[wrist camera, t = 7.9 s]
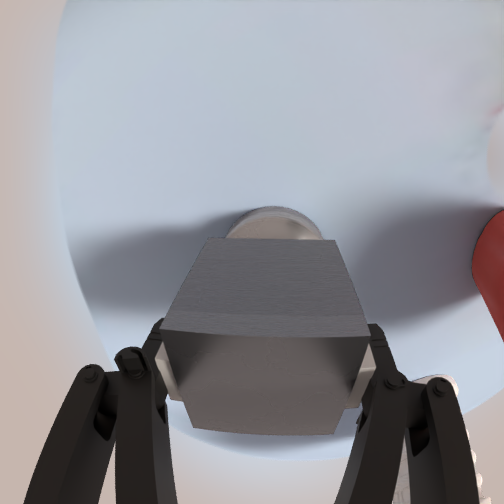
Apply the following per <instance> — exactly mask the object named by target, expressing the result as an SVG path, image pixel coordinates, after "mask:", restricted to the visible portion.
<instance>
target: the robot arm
mask: <svg viewBox="0 0 504 504" xmlns="http://www.w3.org/2000/svg"><path fill="white" fill-rule="evenodd" d="M163 320H164V318H161V319H160V320H159V321H158V322H157V323H155V324H154V326H153V328H152V330H151V333H150V334H149V335H148V337H147V339H146V341H145V343H144V345H143V347H142V349H141V348H138V347H127V348H124V349H122V350H120V351H119V352H118V353H117V354H116V356H115V359H114V360H115V362H116V364H117V366H118V368H119V370H120V371H113V372H104V370H103V369H102V368H101V367H100V366H99V365H96V364H90V365H87V366H85V367H83V368H82V369H81V370H80V371H79V372H78V374H77V376H76V378H75V380H74V382H73V384H72V386H71V388H70V390H69V392H68V394H67V396H66V398H65V400H64V402H63V404H62V406H61V408H60V410H59V413H58V415H57V417H56V419H55V421H54V424H53V426H52V428H51V430H50V433H49V435H48V437H47V440H46V442H45V444H44V447H43V450H42V452H41V455H40V457H39V460H38V463H37V465H36V468H35V470H34V473H33V476H32V479H31V482H30V485H29V488H28V491H27V494H26V497H25V500H24V503H23V504H98V502H99V498H100V494H101V490H102V486H103V482H104V479H105V475H106V471H107V468H108V464H109V461H110V457H111V454H112V451H113V447H114V444H115V441H116V445H115V446H116V447H115V449H116V450H115V489H116V504H178V503H177V496H176V490H175V483H174V476H173V468H172V459H171V449H170V438H169V426H168V411H167V404H166V401H165V399H166V397H167V394H169V397H170V399H171V400H176V401H182V402H183V400H182V397H181V394H180V392H179V389H178V386H177V383H176V380H175V377H174V375H173V372H172V369H171V366H170V363H169V359H168V356H167V353H166V350H165V347H164V343H163V340H162V337H161V333H160V330H159V328H160V326H161V324H162V322H163ZM367 325H368V328H369V331H370V334H371V338H370V341H369V344H368V347H367V350H366V353H365V356H364V359H363V362H362V365H361V368H360V370H359V373H358V376H357V379H356V381H355V384H354V386H353V389H352V392H351V394H350V397H349V399H348V401H347V404H346V406H345V409H347V408H358V407H359V405H360V403H361V401H362V406H363V410H362V412H361V414H360V416H359V418H358V420H357V422H356V424H358V427H357V431H356V435H355V439H354V443H353V446H352V450H351V454H350V457H349V460H348V464H347V467H346V471H345V474H344V477H343V480H342V483H341V486H340V489H339V492H338V495H337V497H336V500H335V503H334V504H392V501H393V496H394V492H395V488H396V483H397V478H398V473H399V468H400V462H401V456H402V449H403V442H404V436H405V444H406V452H407V461H408V472H409V485H410V504H480V502H479V494H478V486H477V480H476V474H475V468H474V463H473V458H472V453H471V448H470V445H469V440H468V436H467V432H466V428H465V424H464V421H463V417H462V414H461V410H460V407H459V404H458V400H457V397H456V394H455V391H454V388H453V386H452V384H451V383H450V382H449V381H448V380H447V379H445V378H442V377H434V378H431V379H430V380H429V381H428V382H427V384H422V383H415V382H411V381H408V380H407V378H406V377H405V375H403V374H402V373H401V372H398V370H397V368H396V365H395V362H394V359H393V356H392V353H391V351H390V348H389V347H388V342H387V340H386V337H385V335H384V332H383V330H382V329H381V328H380V327H379V326H378V325H377V324H367Z"/></svg>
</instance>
